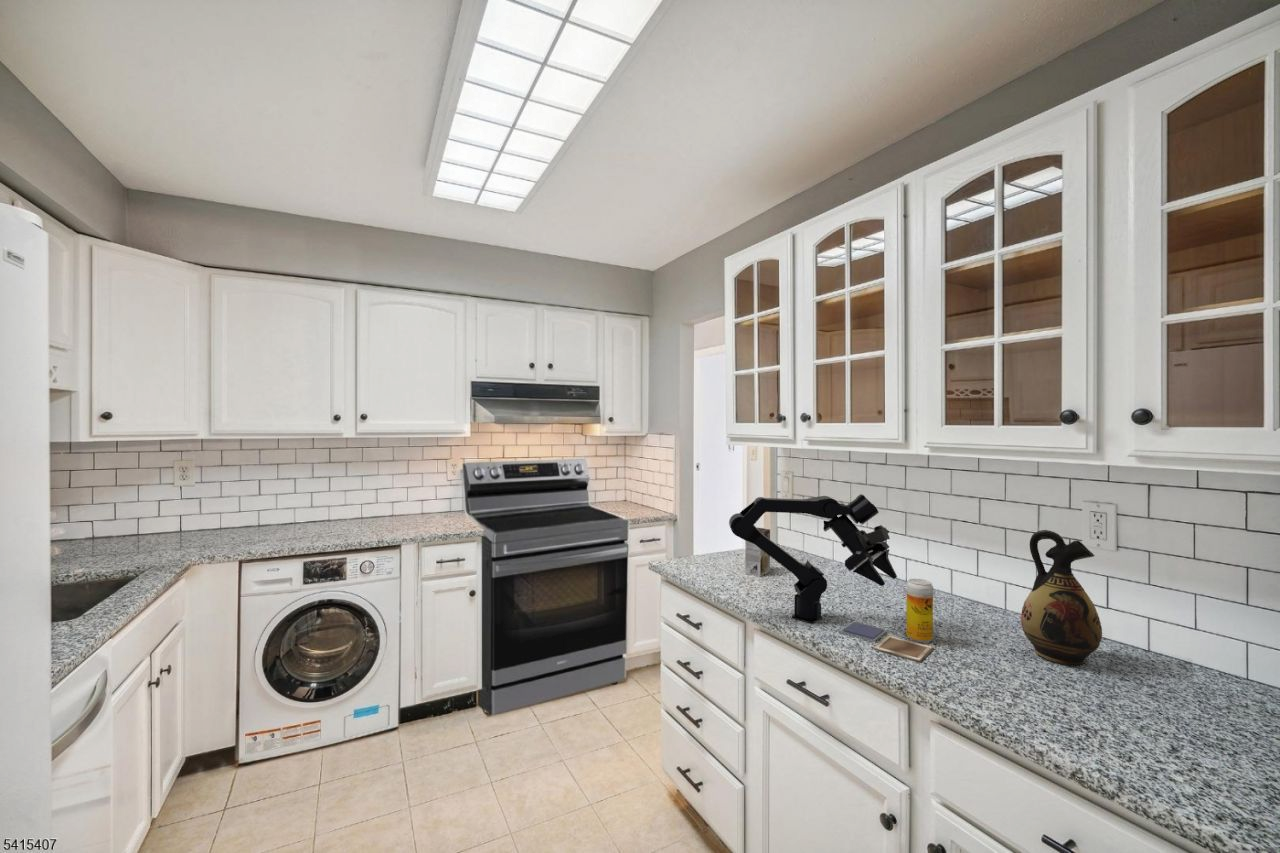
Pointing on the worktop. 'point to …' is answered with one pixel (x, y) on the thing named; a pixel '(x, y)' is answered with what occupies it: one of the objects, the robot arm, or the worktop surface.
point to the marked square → (903, 648)
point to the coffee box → (757, 557)
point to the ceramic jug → (1060, 606)
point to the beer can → (919, 610)
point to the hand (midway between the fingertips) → (889, 581)
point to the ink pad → (863, 631)
